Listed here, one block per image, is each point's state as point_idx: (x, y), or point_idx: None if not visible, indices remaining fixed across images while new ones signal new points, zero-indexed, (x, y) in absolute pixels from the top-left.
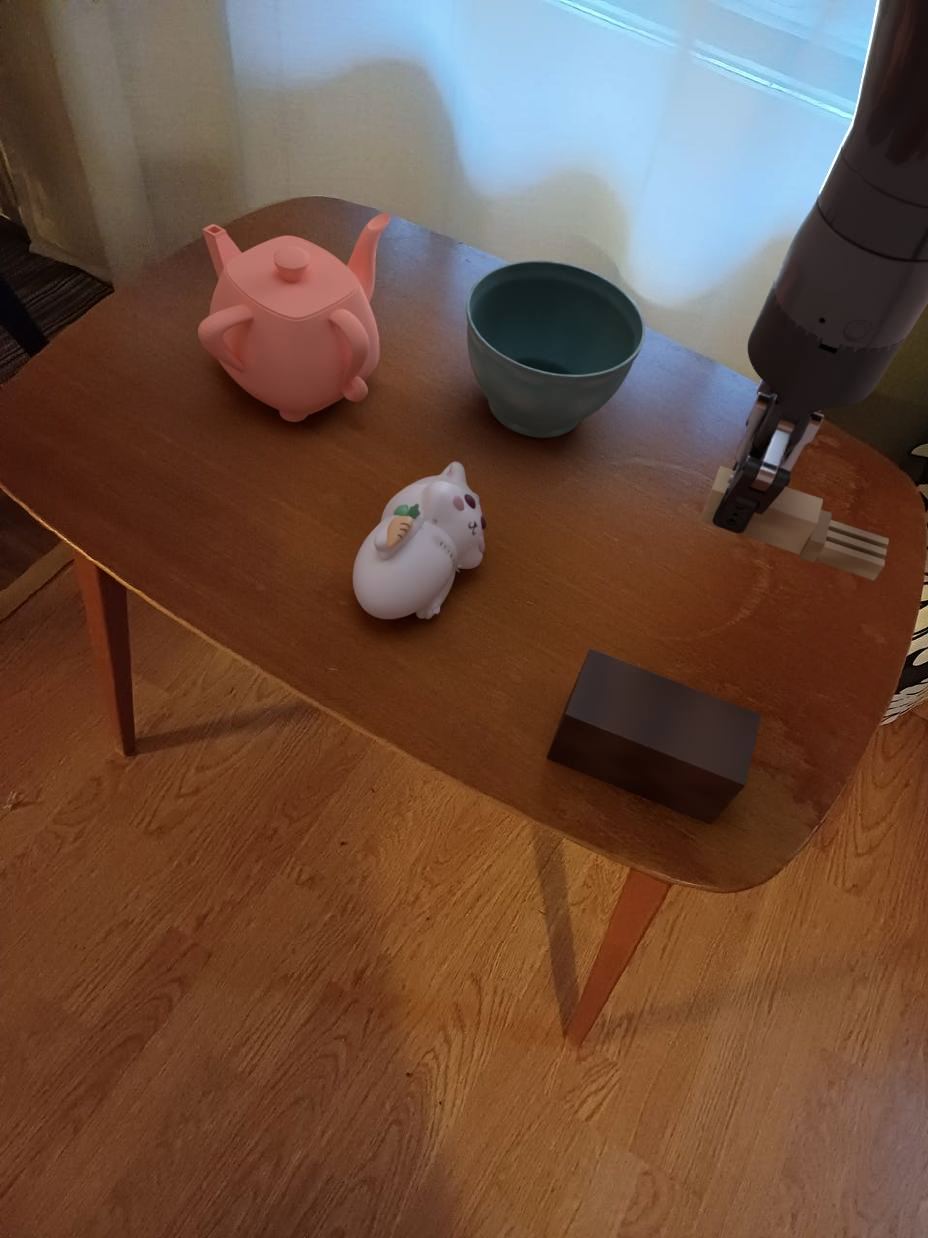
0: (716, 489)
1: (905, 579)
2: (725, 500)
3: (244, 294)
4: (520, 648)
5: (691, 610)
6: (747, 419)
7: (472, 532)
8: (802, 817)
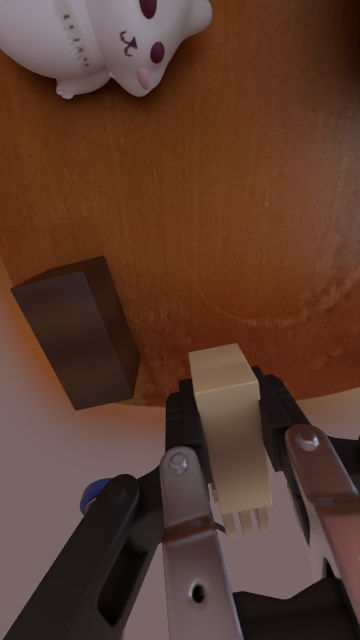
0: (198, 398)
1: (337, 389)
2: (101, 490)
3: None
4: (109, 196)
5: (232, 292)
6: (325, 531)
7: (124, 49)
8: (136, 401)
